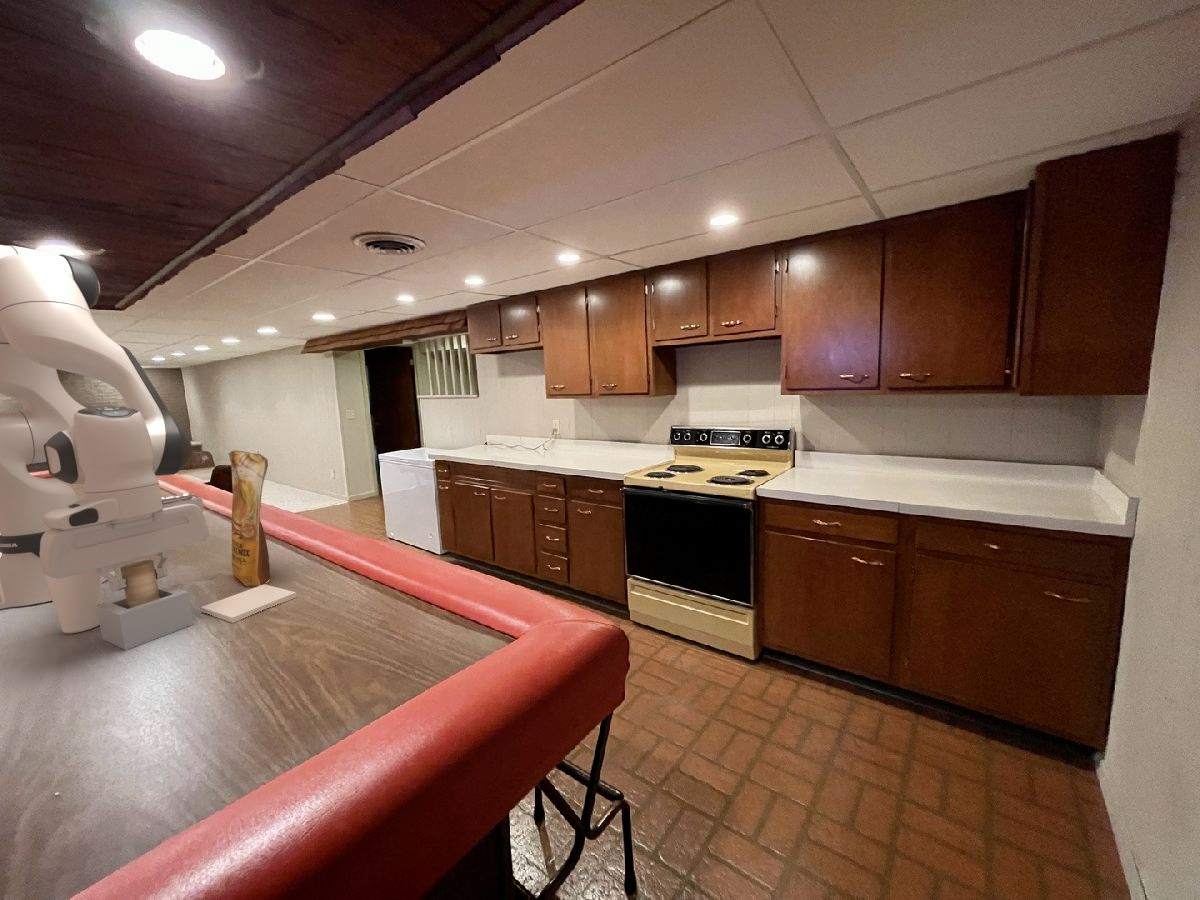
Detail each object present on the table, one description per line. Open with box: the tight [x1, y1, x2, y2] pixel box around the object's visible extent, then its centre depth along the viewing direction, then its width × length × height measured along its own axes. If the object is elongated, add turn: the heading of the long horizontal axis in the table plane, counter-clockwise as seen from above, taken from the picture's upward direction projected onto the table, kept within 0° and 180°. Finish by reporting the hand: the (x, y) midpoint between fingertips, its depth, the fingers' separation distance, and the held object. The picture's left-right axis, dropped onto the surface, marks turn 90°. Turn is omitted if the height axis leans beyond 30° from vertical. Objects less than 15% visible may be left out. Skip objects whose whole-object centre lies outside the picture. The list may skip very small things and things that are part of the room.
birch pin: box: [120, 559, 160, 609], centre depth 80 cm, size 4×4×12 cm
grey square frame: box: [96, 584, 195, 651], centre depth 81 cm, size 9×9×6 cm
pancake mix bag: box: [228, 450, 271, 588], centre depth 103 cm, size 7×19×28 cm, turn 48°
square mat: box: [200, 584, 297, 624], centre depth 90 cm, size 11×11×1 cm
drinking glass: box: [39, 552, 104, 634], centre depth 83 cm, size 7×7×15 cm
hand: (140, 583), depth 80 cm, fingers closed on birch pin, 4 cm apart
